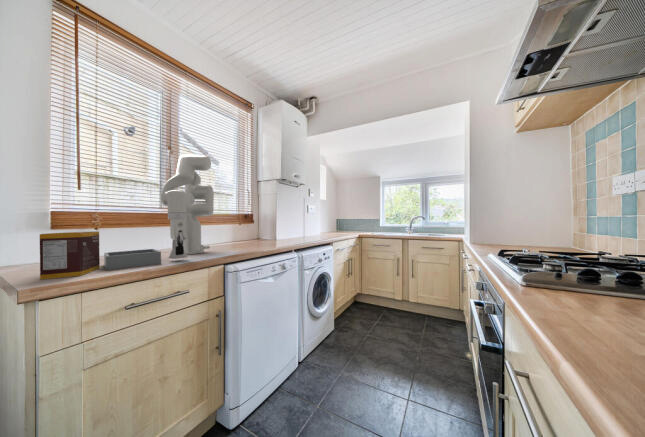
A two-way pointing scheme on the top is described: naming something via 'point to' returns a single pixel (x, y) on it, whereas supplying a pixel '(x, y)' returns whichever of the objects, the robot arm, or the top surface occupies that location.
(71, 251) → the supplement box
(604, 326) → the top surface
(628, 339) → the top surface
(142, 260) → the bin
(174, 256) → the flask
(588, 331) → the top surface
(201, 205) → the robot arm
